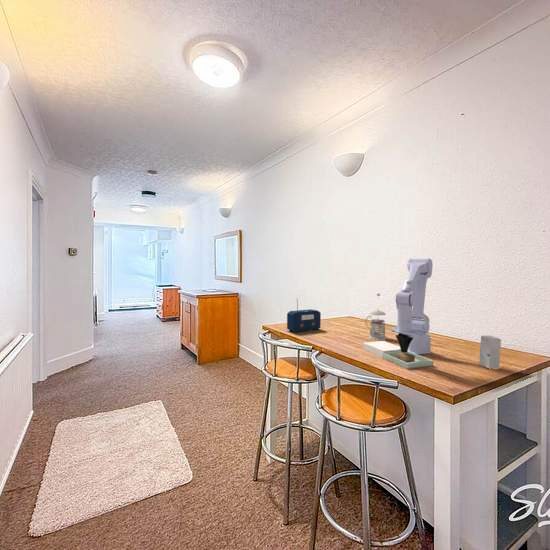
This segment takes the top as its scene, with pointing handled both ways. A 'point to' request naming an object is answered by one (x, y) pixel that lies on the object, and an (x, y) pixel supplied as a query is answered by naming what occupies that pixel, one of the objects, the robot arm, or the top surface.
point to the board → (380, 347)
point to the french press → (379, 324)
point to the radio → (303, 320)
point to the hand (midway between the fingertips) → (404, 352)
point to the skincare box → (490, 351)
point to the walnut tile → (406, 357)
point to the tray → (418, 363)
